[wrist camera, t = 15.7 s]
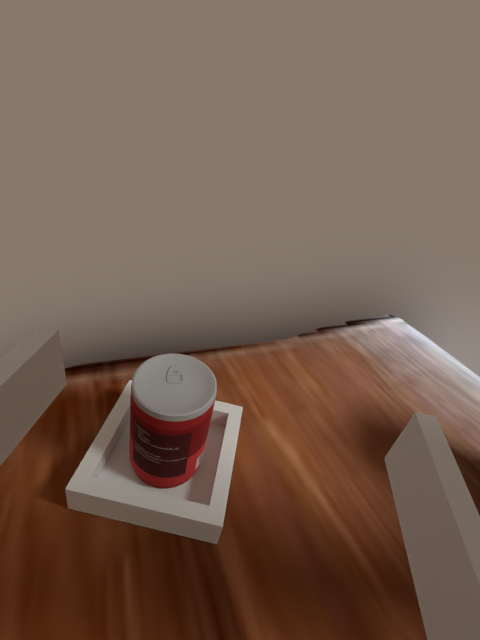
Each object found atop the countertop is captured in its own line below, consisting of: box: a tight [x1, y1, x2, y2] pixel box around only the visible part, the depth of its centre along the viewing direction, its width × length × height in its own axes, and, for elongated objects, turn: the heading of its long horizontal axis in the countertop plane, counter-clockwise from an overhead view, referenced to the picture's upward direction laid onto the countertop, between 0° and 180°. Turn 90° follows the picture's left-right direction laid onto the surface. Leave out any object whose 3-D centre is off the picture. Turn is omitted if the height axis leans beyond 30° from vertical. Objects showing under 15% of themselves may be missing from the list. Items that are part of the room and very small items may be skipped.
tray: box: [65, 380, 243, 544], centre depth 37 cm, size 14×14×3 cm
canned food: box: [130, 353, 217, 489], centre depth 34 cm, size 8×8×11 cm
